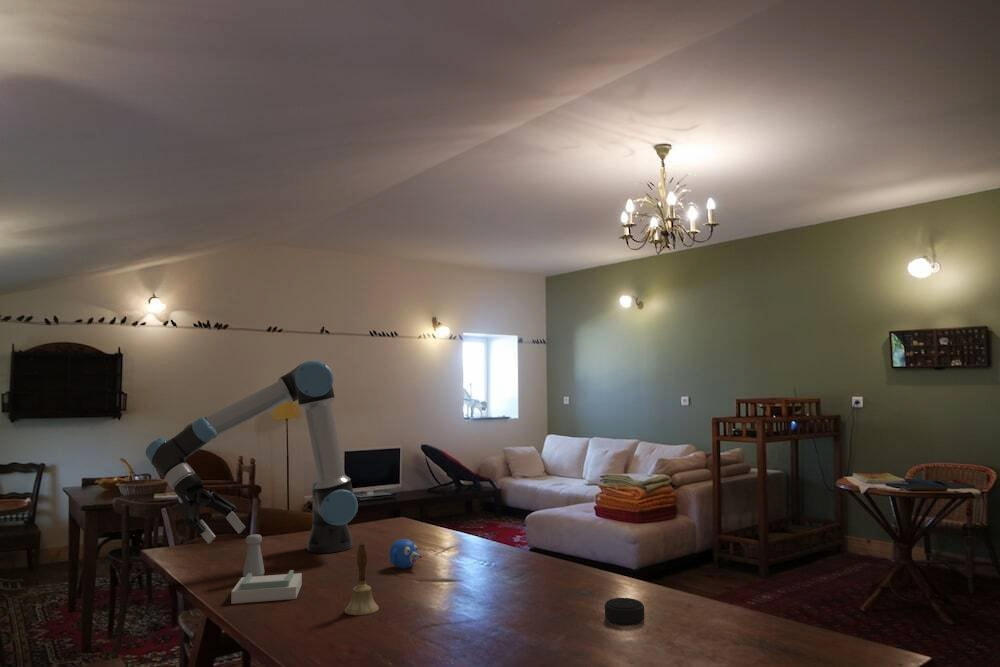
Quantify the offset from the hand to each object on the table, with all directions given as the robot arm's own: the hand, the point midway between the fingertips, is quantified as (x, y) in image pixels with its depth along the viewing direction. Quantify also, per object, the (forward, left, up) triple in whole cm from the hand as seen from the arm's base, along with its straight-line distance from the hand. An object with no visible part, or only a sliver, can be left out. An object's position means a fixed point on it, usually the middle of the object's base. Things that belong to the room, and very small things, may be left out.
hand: (227, 535), depth 197 cm
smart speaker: (-98, +61, -13) cm, 116 cm away
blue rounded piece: (-52, +1, -13) cm, 53 cm away
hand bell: (-39, +38, -13) cm, 56 cm away
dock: (-14, +17, -13) cm, 25 cm away
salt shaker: (-8, +3, -13) cm, 15 cm away
